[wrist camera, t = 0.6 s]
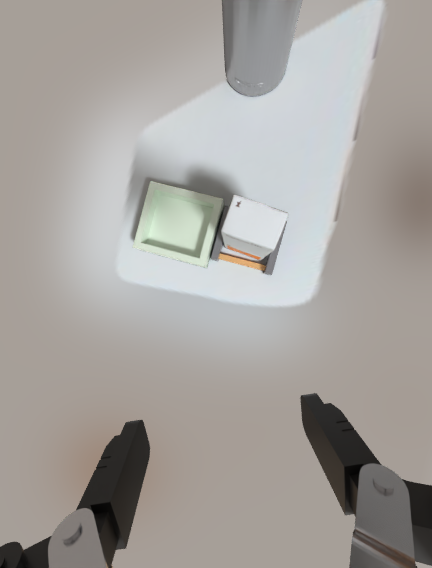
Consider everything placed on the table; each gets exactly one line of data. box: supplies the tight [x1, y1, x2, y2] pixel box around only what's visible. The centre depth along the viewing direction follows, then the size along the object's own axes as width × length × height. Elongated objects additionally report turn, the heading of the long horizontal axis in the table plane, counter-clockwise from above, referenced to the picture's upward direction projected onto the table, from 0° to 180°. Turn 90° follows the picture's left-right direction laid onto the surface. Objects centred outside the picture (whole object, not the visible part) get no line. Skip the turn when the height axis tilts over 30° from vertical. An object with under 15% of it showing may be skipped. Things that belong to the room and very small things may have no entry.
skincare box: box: [221, 195, 289, 260], centre depth 29 cm, size 6×4×12 cm
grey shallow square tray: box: [211, 206, 287, 275], centre depth 34 cm, size 8×9×2 cm
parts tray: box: [133, 181, 224, 268], centre depth 34 cm, size 10×11×3 cm
